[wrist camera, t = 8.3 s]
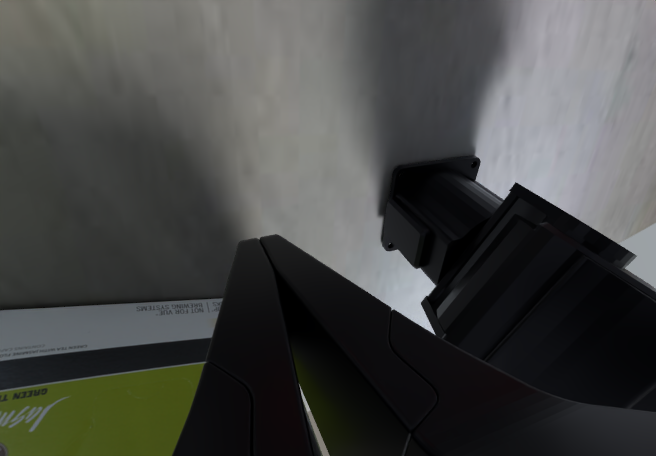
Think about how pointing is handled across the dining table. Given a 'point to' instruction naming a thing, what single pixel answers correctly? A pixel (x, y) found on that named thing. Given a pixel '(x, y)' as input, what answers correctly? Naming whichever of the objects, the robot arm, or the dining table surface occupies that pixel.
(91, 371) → the tea box
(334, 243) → the dining table surface
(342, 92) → the dining table surface
